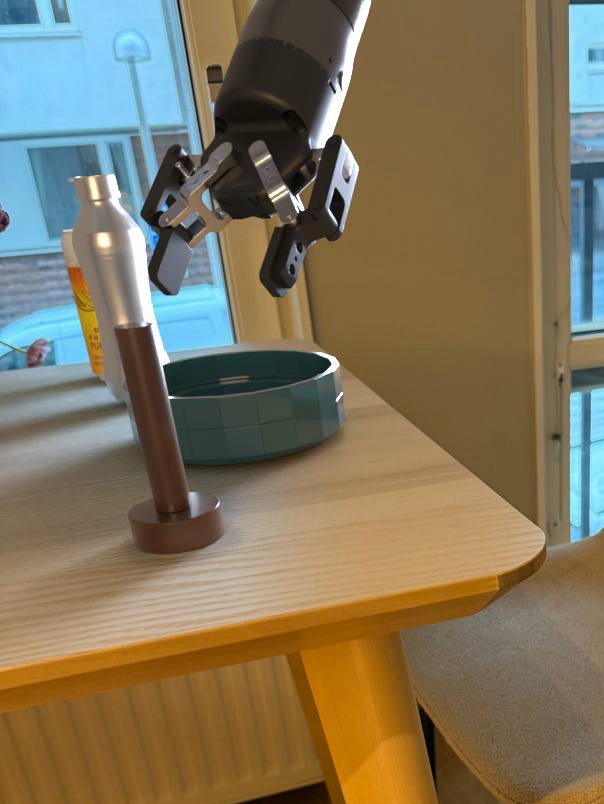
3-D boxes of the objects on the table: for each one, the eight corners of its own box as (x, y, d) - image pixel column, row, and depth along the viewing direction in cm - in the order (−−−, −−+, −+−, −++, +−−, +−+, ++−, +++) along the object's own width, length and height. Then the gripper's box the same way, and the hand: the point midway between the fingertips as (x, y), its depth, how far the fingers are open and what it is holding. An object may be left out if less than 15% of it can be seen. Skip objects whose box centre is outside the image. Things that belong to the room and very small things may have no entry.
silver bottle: (176, 389, 95) (131, 172, 86) (179, 404, 90) (131, 174, 80) (111, 397, 94) (57, 177, 84) (109, 413, 88) (52, 179, 78)
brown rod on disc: (120, 555, 57) (64, 336, 51) (153, 521, 62) (105, 318, 56) (209, 552, 56) (163, 332, 50) (235, 519, 61) (196, 314, 55)
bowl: (104, 473, 72) (86, 402, 69) (179, 413, 87) (167, 353, 84) (324, 466, 70) (314, 393, 68) (361, 407, 85) (354, 345, 83)
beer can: (96, 385, 99) (58, 233, 92) (92, 374, 104) (56, 229, 97) (154, 377, 101) (121, 227, 94) (148, 367, 106) (117, 224, 99)
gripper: (169, 43, 62) (88, 250, 58) (355, 22, 57) (279, 248, 53) (231, 132, 68) (162, 322, 65) (403, 121, 63) (338, 327, 60)
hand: (215, 288), depth 59 cm, fingers open, 8 cm apart
